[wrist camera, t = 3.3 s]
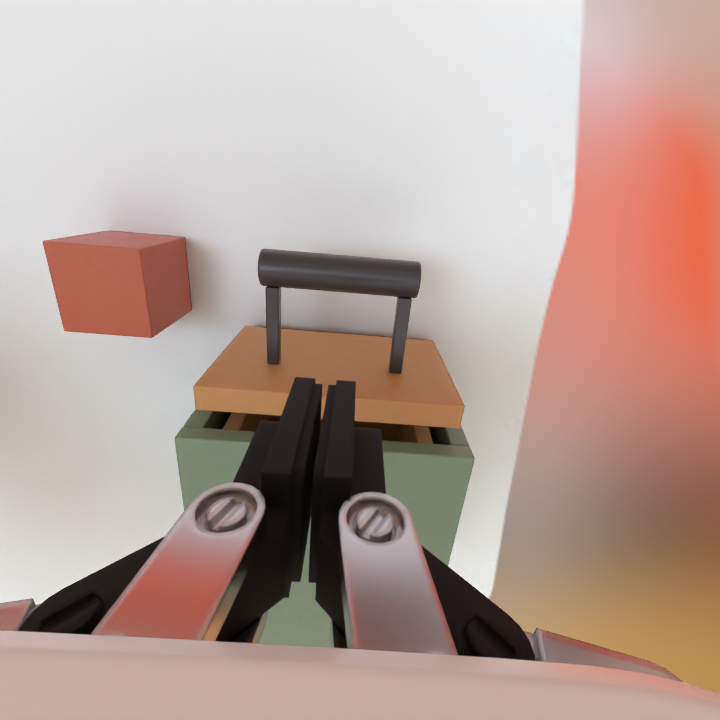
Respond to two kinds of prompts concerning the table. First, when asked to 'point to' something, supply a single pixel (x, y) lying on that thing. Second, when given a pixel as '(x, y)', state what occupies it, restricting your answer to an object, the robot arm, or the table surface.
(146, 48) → the table surface
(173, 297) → the block
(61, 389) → the table surface
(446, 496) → the cabinet
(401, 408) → the drawer
